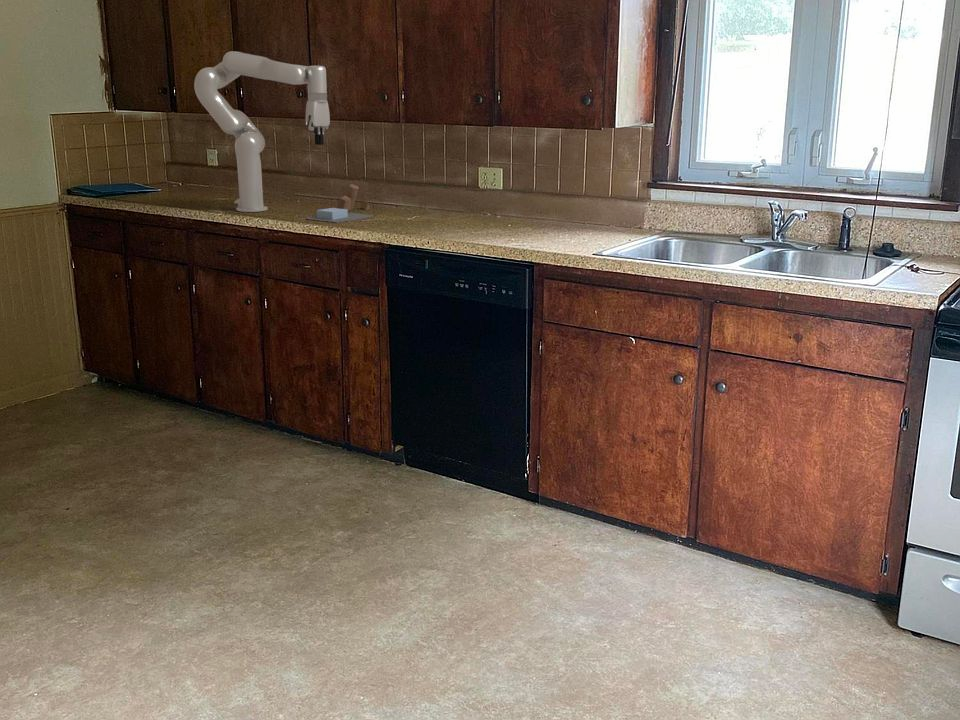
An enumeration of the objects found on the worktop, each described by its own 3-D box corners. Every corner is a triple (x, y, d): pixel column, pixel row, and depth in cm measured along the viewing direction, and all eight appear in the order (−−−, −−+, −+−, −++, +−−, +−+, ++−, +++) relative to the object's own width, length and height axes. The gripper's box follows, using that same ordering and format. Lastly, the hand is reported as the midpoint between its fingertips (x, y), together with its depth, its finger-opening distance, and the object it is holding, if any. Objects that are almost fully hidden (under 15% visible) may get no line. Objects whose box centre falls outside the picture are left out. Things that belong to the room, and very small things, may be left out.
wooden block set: (343, 219, 389) (350, 197, 384) (327, 209, 391) (334, 187, 386) (368, 212, 404) (375, 191, 399) (352, 203, 406) (359, 181, 401)
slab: (332, 215, 379) (316, 218, 372) (332, 207, 378) (316, 210, 371) (347, 217, 375) (332, 219, 368) (347, 209, 374) (332, 212, 367)
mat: (305, 219, 371) (305, 218, 370) (342, 213, 388) (342, 212, 388) (336, 223, 362) (336, 221, 362) (372, 216, 380) (372, 215, 380)
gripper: (322, 97, 389) (324, 143, 394) (297, 97, 377) (299, 145, 382) (336, 97, 385) (338, 144, 390) (311, 98, 373) (313, 145, 378)
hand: (319, 144), depth 386 cm, fingers closed
